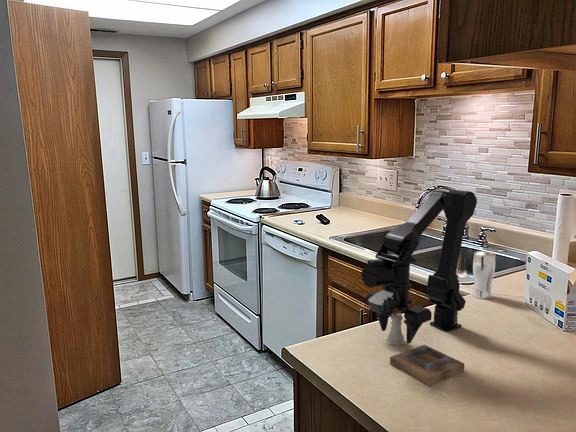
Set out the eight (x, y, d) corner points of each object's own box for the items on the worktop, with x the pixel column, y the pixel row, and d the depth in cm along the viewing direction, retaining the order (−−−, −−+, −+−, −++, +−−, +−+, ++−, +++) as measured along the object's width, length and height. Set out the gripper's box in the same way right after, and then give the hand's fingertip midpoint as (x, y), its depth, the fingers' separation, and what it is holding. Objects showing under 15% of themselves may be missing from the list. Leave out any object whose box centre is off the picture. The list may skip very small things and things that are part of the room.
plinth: (424, 351, 121) (424, 340, 120) (463, 371, 111) (464, 358, 110) (390, 364, 114) (390, 352, 114) (428, 386, 104) (429, 372, 104)
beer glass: (483, 291, 166) (485, 250, 163) (497, 298, 159) (500, 255, 157) (466, 293, 164) (469, 251, 161) (480, 300, 157) (483, 256, 155)
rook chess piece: (392, 337, 129) (392, 309, 128) (407, 341, 126) (408, 313, 125) (384, 343, 126) (385, 314, 124) (399, 347, 123) (400, 318, 122)
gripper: (350, 276, 127) (350, 331, 129) (402, 296, 111) (400, 358, 114) (381, 270, 133) (380, 322, 135) (434, 288, 117) (431, 346, 120)
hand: (395, 336), depth 126 cm, fingers open, 9 cm apart
